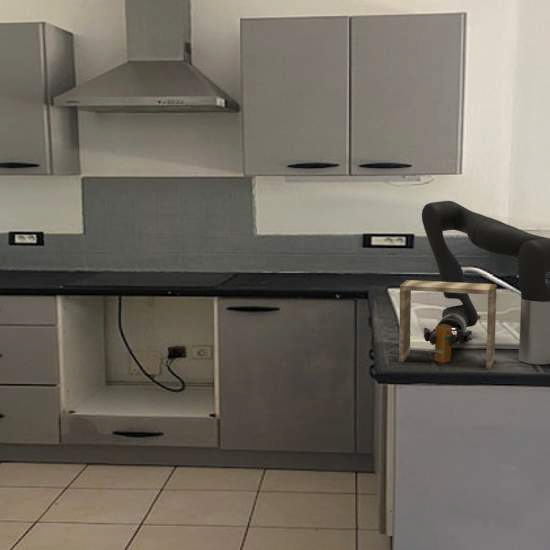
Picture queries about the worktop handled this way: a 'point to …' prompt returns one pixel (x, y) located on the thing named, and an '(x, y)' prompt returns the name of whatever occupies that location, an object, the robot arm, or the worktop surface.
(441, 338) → the supplement box
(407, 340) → the shelf bay
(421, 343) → the tile pad
